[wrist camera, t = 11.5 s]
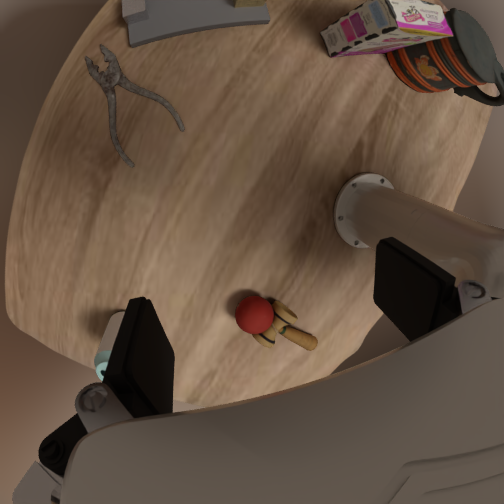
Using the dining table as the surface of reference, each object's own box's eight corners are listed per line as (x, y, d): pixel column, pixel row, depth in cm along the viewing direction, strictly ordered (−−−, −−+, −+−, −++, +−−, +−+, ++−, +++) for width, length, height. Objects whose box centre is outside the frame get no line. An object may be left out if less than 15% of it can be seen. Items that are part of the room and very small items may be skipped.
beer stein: (456, 77, 33) (531, 77, 15) (438, 124, 37) (524, 136, 19) (396, 10, 27) (473, -18, 9) (371, 53, 31) (463, 26, 13)
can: (130, 346, 44) (119, 396, 33) (102, 322, 41) (83, 370, 30) (156, 329, 43) (148, 381, 32) (126, 302, 40) (108, 351, 29)
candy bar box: (330, 60, 31) (398, 28, 16) (318, 32, 29) (379, -10, 14) (384, 55, 31) (455, 37, 16) (374, 30, 29) (441, 3, 14)
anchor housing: (146, -6, 21) (143, -15, 18) (149, 18, 23) (145, 10, 20) (126, 1, 21) (121, -8, 18) (128, 25, 23) (122, 17, 20)
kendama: (322, 317, 50) (255, 278, 41) (333, 343, 45) (262, 309, 36) (292, 339, 53) (223, 307, 44) (301, 364, 48) (226, 338, 39)
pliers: (139, 176, 33) (54, 92, 25) (141, 175, 34) (57, 93, 26) (191, 123, 32) (99, 41, 24) (191, 124, 32) (101, 43, 24)
